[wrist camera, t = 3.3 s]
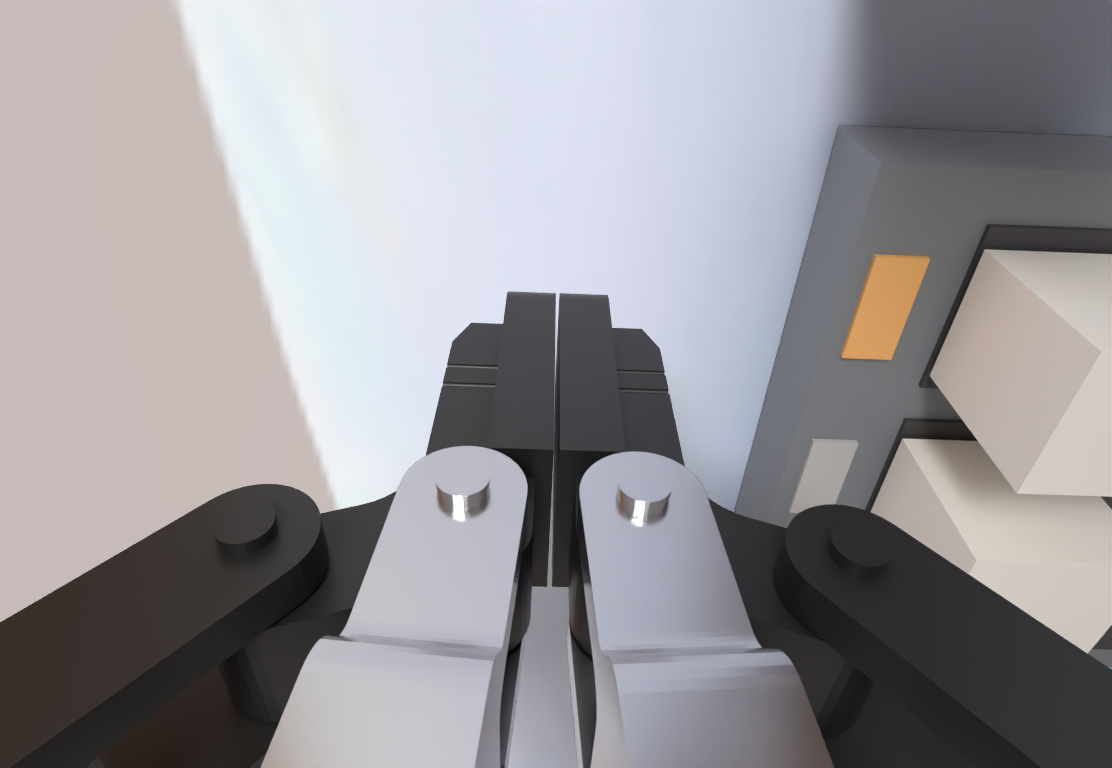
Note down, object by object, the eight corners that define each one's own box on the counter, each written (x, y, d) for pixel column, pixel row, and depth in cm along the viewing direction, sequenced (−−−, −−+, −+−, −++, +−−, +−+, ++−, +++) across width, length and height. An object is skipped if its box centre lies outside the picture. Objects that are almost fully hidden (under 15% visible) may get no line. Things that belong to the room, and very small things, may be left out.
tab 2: (901, 438, 14) (976, 560, 11) (1054, 443, 14) (1160, 566, 11) (864, 526, 15) (922, 651, 13) (1001, 530, 15) (1085, 655, 13)
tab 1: (984, 249, 11) (1102, 351, 9) (1167, 256, 11) (1335, 360, 9) (929, 375, 13) (1016, 493, 10) (1091, 381, 13) (1216, 500, 10)
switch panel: (838, 125, 12) (883, 165, 11) (1505, 152, 12) (1655, 196, 11) (712, 592, 20) (726, 659, 18) (1126, 604, 20) (1179, 672, 18)
